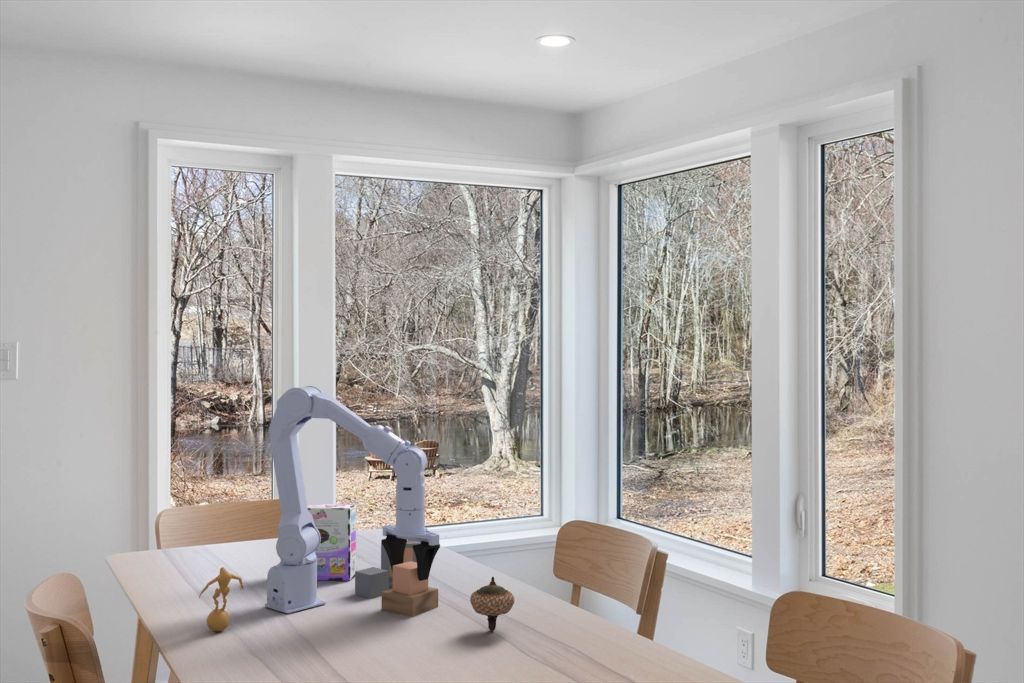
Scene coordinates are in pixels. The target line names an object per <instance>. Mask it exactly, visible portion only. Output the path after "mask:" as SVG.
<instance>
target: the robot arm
mask: <svg viewBox="0 0 1024 683" xmlns="http://www.w3.org/2000/svg"><path fill="white" fill-rule="evenodd" d="M311 419H326V420H330V421H332V422H334V423H335V424H337V426H338V425H339V426H340V427H342V429H345V431H346V430H347V431H348V432H349V433H351V434H353V435H355V436H356V437H358V438H359V439H360V440H362V444H363V448H364V450H366V451H367V452H369V454H372V455H373V456H375V457H376V458H378V459H379V460H380V461H382V462H383V463H385V464H386V465H387V466H392V471H393V472H394V474H395V475H396V486H395V525H391V524H389V525H384V526H382V536H383V537H385V538H383V539H381V541H380V542H381V543H382V545H383V547H384V548H385V550H386V553H387V555H388V558H389V561H390V565H391V569H392V573H393V565H398V564H402V563H403V561H404V551H405V546H406V543H407V541H408V540H412V541H417V542H421V544H418V545H413V550H414V552H415V556H416V560H417V573H418V579H419V580H420V581H423V580H426V579H428V580H429V578H430V577H429V576H430V573H431V568H432V565H433V562H434V559H435V557H436V555H437V553H438V551H439V549H440V547H441V543H440V534H439V533H435V532H432V531H430V530H428V527H426V524H425V523H426V522H425V521H426V520H425V518H426V516H425V515H426V512H425V511H426V510H425V509H426V508H425V507H426V500H425V499H426V484H425V472H424V471H425V469H426V468H427V465H428V457H427V455H426V452H425V451H424V450H422V449H421V447H420V446H417V445H411V441H409V440H408V439H406V440H404V439H402V437H401V438H400V436H398V435H396V434H395V433H393V432H392V430H393V429H392V427H390V426H389V425H385V426H383V425H382V424H378V425H377V424H376V425H371V424H369V423H368V422H367V421H365V420H364V419H363V418H361V417H360V416H359V415H358V414H356V413H355V412H354V411H352V410H351V409H350V408H348V407H347V406H345V405H344V404H343V403H341V402H340V401H339V400H337V399H336V398H335V397H333V396H332V395H331V394H329V393H327V392H325V391H322V390H321V389H320V388H319V387H317V386H314V385H307V386H303V387H291V388H289V389H287V390H286V391H285V392H284V393H283V394H282V395H281V396H280V397H279V398H278V399H277V400H276V408H275V412H274V414H273V416H272V419H271V422H270V424H269V428H268V433H269V440H270V448H271V454H272V461H273V467H274V474H275V482H276V487H277V493H278V494H277V495H278V500H279V508H280V514H281V517H280V520H279V523H278V526H277V534H278V538H277V541H276V545H275V551H276V554H277V556H278V557H279V559H280V562H279V563H278V564H276V565H274V566H271V567H270V568H269V569H268V572H267V576H266V603H265V604H264V607H266V608H269V609H272V610H275V611H278V612H280V613H285V614H291V613H294V612H295V613H296V612H298V611H303V610H306V609H310V608H314V607H317V606H322V605H325V604H326V603H327V601H326V600H323V599H319V598H318V594H317V592H318V589H317V588H318V584H317V583H318V580H317V556H316V554H315V550H317V548H318V547H319V545H320V542H321V536H320V533H319V531H318V529H317V528H316V526H315V524H314V520H313V516H312V515H311V514H310V512H309V511H308V508H307V504H308V503H307V496H306V488H305V481H304V476H303V468H302V463H301V456H300V449H299V443H298V436H297V435H298V433H300V431H301V429H302V428H303V427H304V426H305V425H306V423H307V422H309V421H310V420H311ZM381 543H380V544H381Z"/></svg>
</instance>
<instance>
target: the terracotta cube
mask: <svg viewBox="0 0 1024 683" xmlns="http://www.w3.org/2000/svg"><path fill="white" fill-rule="evenodd" d="M428 587H429V578H428V579H426V580H423V581H420V580H419V579H418V573H417V562H412V561H410V562H406V563H402V564H398V565H393V591H395V592H399V593H403V594H407V595H413V594H416V593H420V592H423V591H427V590H428Z"/></svg>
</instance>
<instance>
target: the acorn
mask: <svg viewBox="0 0 1024 683" xmlns="http://www.w3.org/2000/svg"><path fill="white" fill-rule="evenodd" d="M469 598H470V600H469V601H470V604H471V607H472V609H473V610H474V612H475V613H476V614H479V615H482V616H485V617H486V616H487V618H486V620H487V626H488V627H487V628H488V630H489V631H490V632H494V631H495V630H496V628H497V618H498V617H499V616H501V615H505V614H508V613H509V612H510V611H511V610H512V608H513V606H514V604H515V596H514V595H513V593H512V592H511V591H509V590H508V589H505V588H504V587H503V586H501V585H498V584H497V583H496V581H495V577H494V576H491V579H490V582H489V584H488V585H485V586H482V587H480V588H479V589H477V590H475V591H473V592H472V593H471V594H470V597H469Z"/></svg>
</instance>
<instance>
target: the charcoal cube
mask: <svg viewBox="0 0 1024 683" xmlns="http://www.w3.org/2000/svg"><path fill="white" fill-rule="evenodd" d="M389 589H390V588H389V571H388V570H384V569H381V567H380V568H379V567H374V566H372V567H368V568H364V569H359V570H356V571H355V576H354V595H356V596H359V597H362V598H366V599H369V600H371V599H376V598H378V597H382V592H383V591H386V590H389Z"/></svg>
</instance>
